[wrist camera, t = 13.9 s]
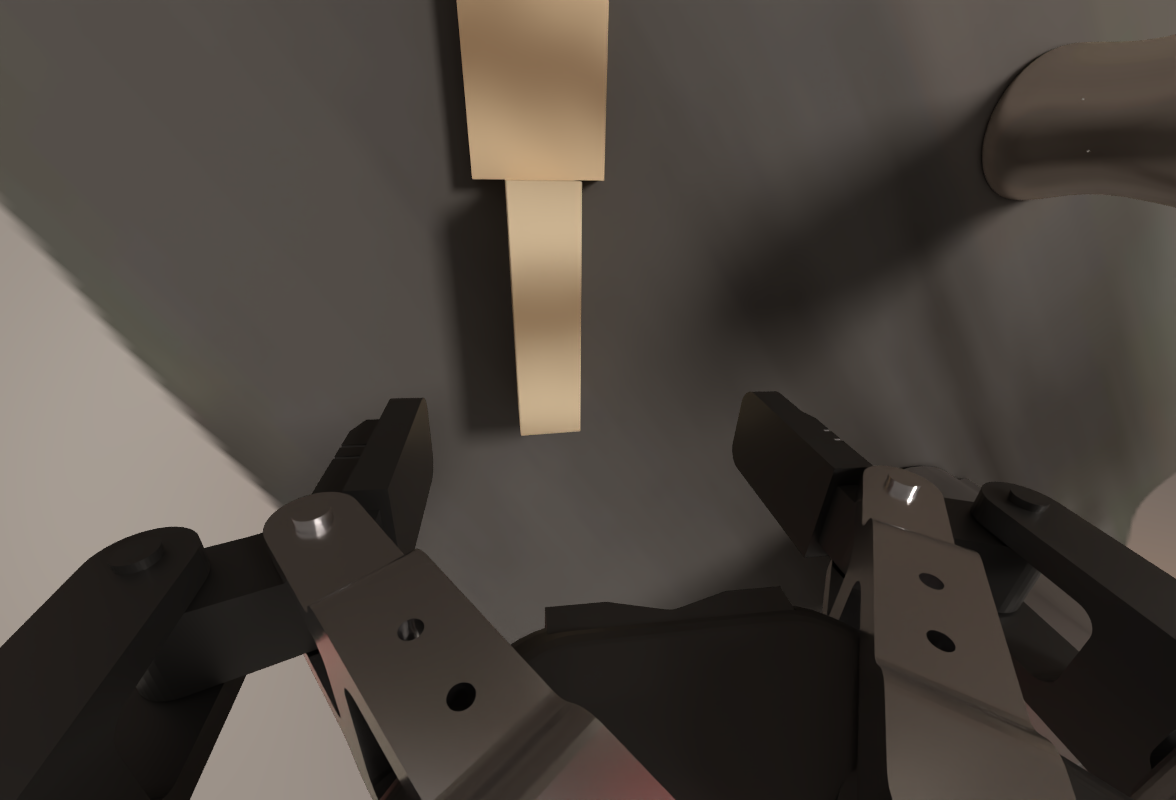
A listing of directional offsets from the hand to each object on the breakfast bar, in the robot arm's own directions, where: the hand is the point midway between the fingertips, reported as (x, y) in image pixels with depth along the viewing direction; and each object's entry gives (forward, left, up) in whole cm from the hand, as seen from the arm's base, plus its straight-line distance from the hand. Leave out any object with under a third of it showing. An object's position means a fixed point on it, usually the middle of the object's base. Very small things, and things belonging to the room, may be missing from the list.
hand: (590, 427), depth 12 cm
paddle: (0, -3, -11) cm, 11 cm away
